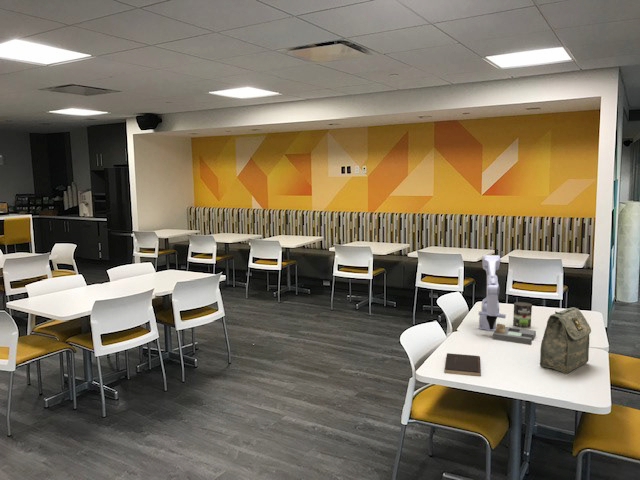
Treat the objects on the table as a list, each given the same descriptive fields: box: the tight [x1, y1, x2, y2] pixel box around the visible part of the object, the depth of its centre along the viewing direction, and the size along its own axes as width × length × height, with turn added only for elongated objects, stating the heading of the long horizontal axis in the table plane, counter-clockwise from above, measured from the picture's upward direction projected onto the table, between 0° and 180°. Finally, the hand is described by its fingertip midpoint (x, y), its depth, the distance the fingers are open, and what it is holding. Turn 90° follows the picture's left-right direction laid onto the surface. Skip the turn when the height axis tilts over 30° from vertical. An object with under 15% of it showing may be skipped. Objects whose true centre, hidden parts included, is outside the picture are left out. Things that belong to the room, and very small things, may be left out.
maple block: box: [495, 323, 506, 333], centre depth 296 cm, size 4×4×4 cm
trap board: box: [492, 326, 537, 346], centre depth 296 cm, size 20×18×3 cm
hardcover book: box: [444, 352, 482, 377], centre depth 252 cm, size 16×23×2 cm
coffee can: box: [512, 301, 533, 330], centre depth 317 cm, size 10×10×14 cm
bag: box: [539, 306, 592, 375], centre depth 251 cm, size 22×16×27 cm
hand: (491, 329), depth 299 cm, fingers closed
